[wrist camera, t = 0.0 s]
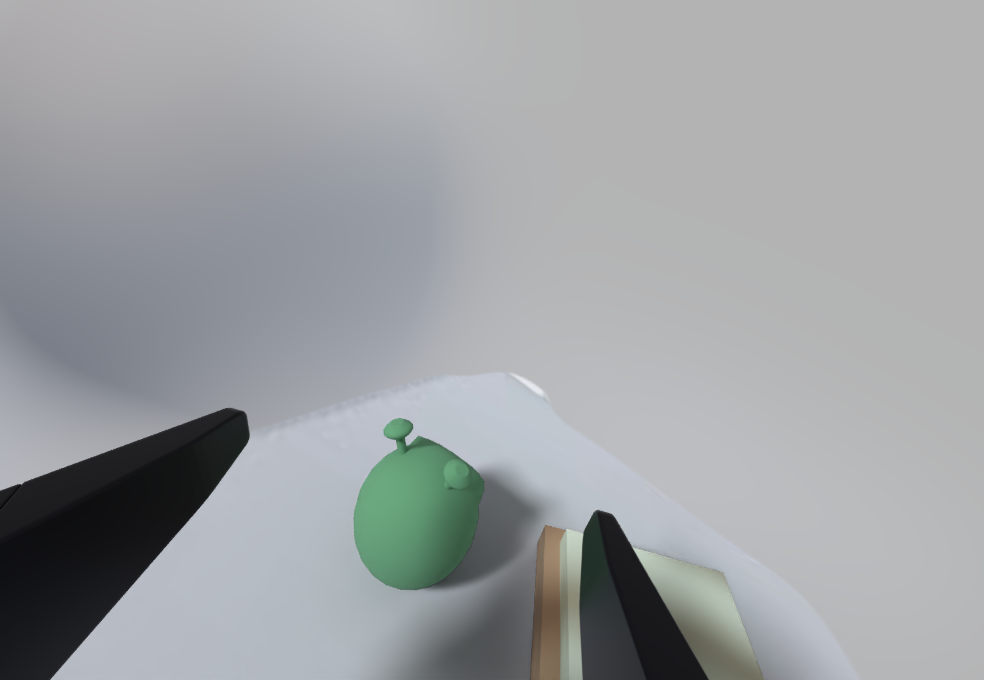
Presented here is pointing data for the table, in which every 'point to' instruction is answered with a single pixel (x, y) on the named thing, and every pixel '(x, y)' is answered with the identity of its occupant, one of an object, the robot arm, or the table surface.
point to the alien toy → (416, 512)
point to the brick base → (683, 587)
